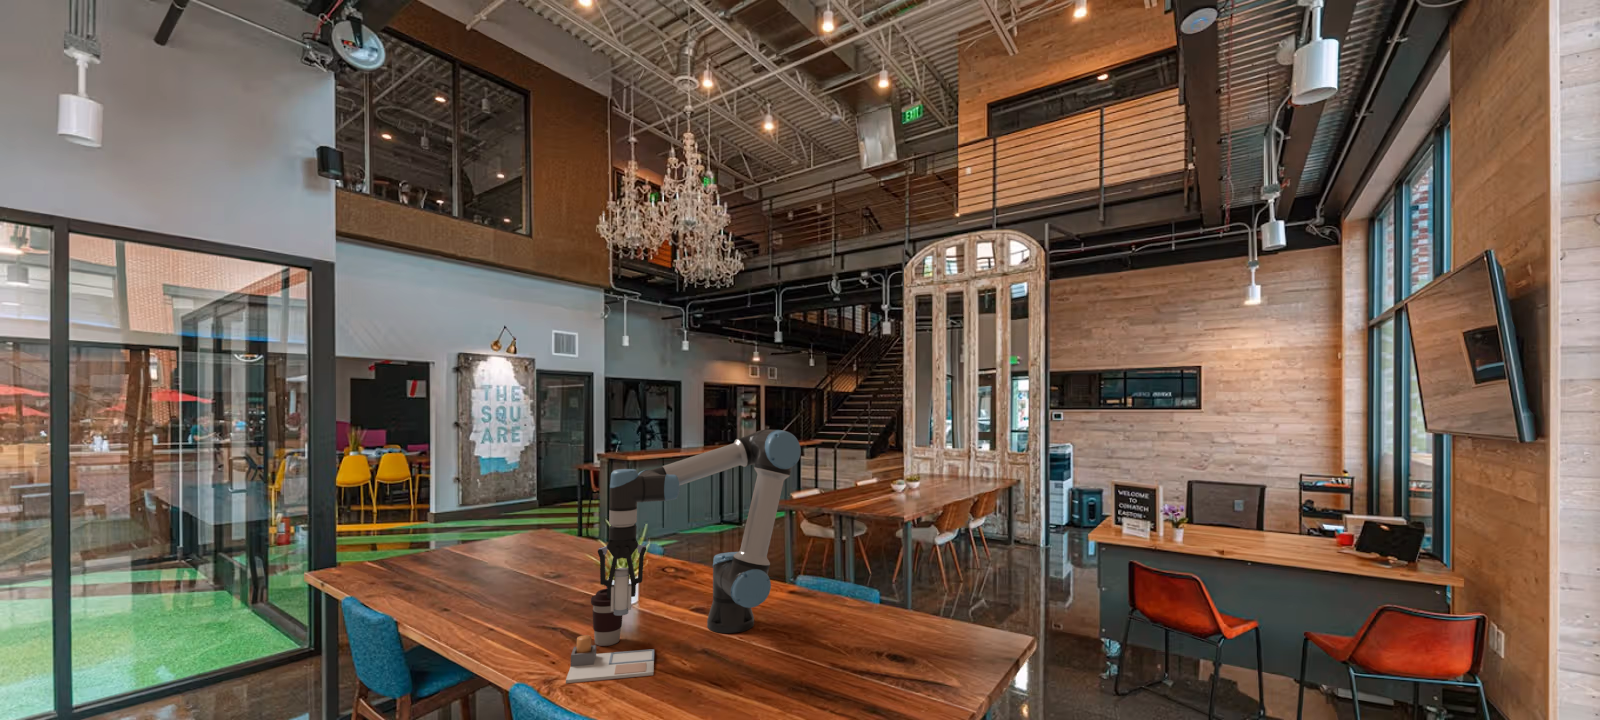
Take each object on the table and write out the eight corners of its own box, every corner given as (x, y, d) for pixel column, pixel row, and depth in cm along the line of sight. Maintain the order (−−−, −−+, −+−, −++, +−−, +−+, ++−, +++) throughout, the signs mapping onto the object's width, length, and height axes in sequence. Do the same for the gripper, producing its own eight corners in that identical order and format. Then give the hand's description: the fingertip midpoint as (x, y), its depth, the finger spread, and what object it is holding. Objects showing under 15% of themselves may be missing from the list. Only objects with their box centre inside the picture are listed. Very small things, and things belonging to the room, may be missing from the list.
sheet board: (654, 651, 180) (654, 638, 180) (653, 675, 164) (653, 660, 165) (574, 658, 175) (574, 644, 176) (565, 683, 160) (566, 668, 160)
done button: (591, 653, 174) (592, 634, 174) (590, 658, 170) (590, 639, 171) (577, 654, 173) (577, 635, 173) (575, 659, 169) (575, 640, 170)
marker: (628, 610, 177) (629, 567, 178) (628, 615, 173) (629, 571, 174) (613, 611, 176) (614, 568, 177) (612, 616, 172) (613, 571, 173)
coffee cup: (614, 649, 182) (615, 597, 183) (583, 647, 184) (584, 595, 185) (630, 637, 192) (630, 587, 193) (600, 634, 193) (601, 585, 195)
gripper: (653, 521, 182) (652, 602, 180) (593, 523, 178) (590, 606, 176) (653, 525, 174) (651, 611, 173) (589, 528, 171) (587, 615, 169)
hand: (621, 608), depth 174 cm, fingers closed on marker, 4 cm apart
